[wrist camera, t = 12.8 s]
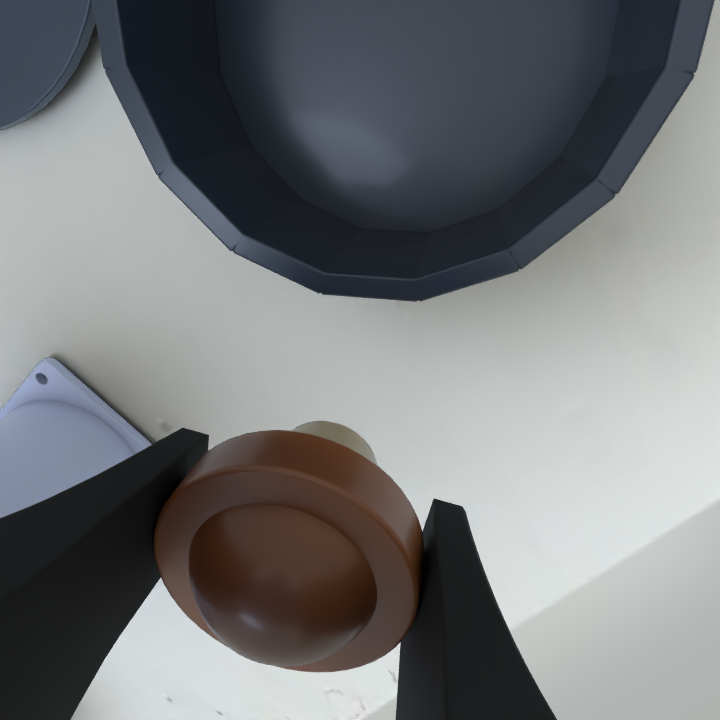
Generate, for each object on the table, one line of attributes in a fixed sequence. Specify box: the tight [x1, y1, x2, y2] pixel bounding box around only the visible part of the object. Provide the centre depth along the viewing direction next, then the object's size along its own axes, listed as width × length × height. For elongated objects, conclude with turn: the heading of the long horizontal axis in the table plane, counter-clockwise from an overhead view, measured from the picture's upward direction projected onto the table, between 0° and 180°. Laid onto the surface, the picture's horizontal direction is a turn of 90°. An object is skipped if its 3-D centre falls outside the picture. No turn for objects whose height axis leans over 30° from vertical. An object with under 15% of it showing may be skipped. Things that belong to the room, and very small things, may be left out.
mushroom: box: [154, 421, 424, 672], centre depth 11 cm, size 5×5×5 cm
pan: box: [92, 0, 715, 302], centre depth 13 cm, size 12×12×5 cm
